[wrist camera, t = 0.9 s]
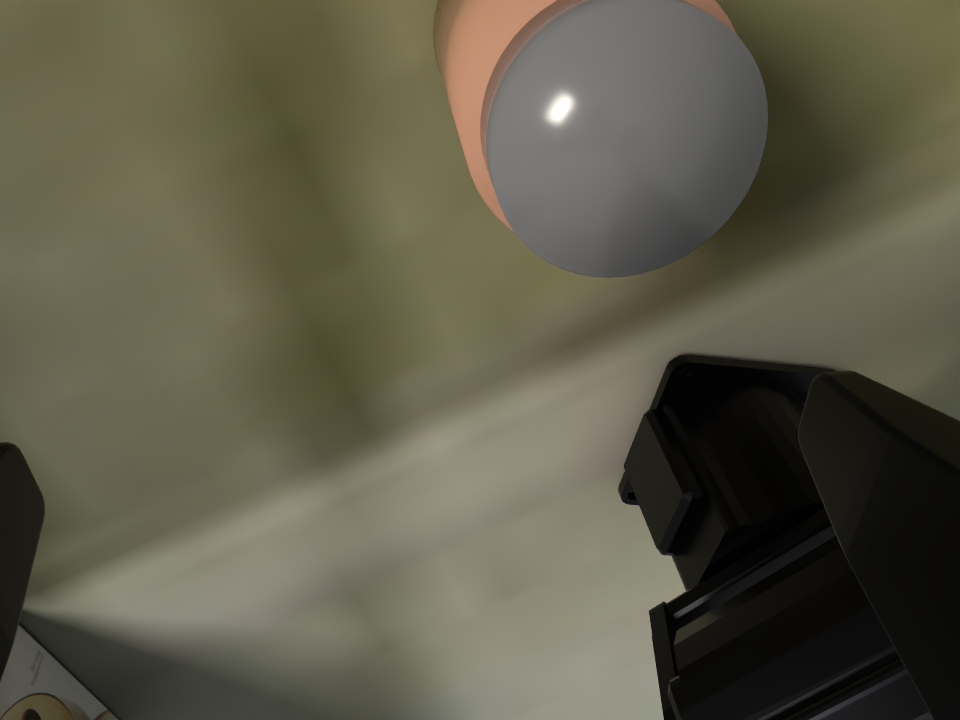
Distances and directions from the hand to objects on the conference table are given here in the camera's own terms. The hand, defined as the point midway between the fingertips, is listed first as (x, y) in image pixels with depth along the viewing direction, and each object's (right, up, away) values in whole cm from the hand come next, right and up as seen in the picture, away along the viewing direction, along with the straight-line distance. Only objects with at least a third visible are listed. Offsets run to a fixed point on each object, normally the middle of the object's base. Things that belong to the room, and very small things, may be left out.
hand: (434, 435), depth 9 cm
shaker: (+2, +9, +10) cm, 14 cm away
